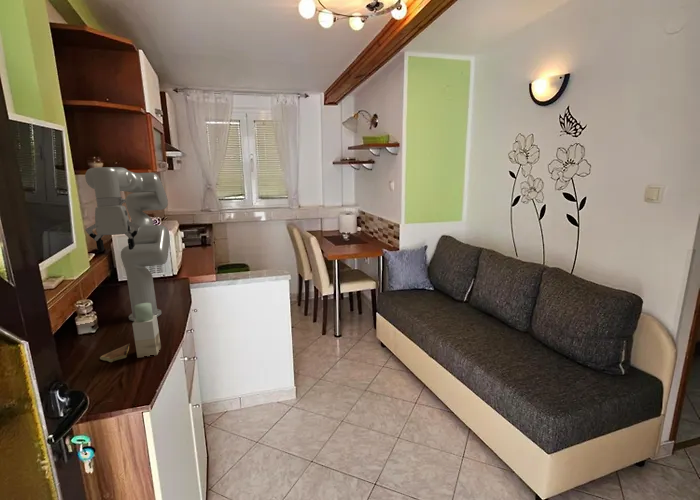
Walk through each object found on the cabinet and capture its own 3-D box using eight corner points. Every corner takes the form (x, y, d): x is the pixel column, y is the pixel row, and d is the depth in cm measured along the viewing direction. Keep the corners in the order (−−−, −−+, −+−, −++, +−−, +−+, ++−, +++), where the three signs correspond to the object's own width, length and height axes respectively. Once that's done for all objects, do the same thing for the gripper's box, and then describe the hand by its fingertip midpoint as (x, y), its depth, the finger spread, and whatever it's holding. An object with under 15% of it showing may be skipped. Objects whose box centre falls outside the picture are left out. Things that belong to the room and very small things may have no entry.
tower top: (139, 333, 131) (137, 317, 130) (158, 331, 132) (156, 315, 131) (134, 340, 125) (132, 323, 124) (154, 338, 127) (152, 321, 126)
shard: (129, 347, 136) (129, 342, 136) (144, 350, 133) (143, 345, 132) (99, 360, 126) (98, 355, 126) (114, 364, 123) (113, 359, 123)
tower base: (142, 350, 132) (139, 333, 131) (161, 347, 134) (158, 331, 132) (137, 357, 126) (134, 340, 125) (157, 355, 128) (154, 338, 127)
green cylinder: (138, 317, 130) (136, 303, 129) (154, 315, 131) (152, 302, 130) (134, 322, 125) (132, 308, 124) (151, 321, 126) (149, 306, 125)
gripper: (139, 201, 141) (145, 246, 144) (86, 203, 136) (94, 250, 140) (133, 202, 133) (139, 250, 137) (77, 204, 129) (85, 254, 133)
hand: (116, 250), depth 138 cm, fingers open, 9 cm apart
